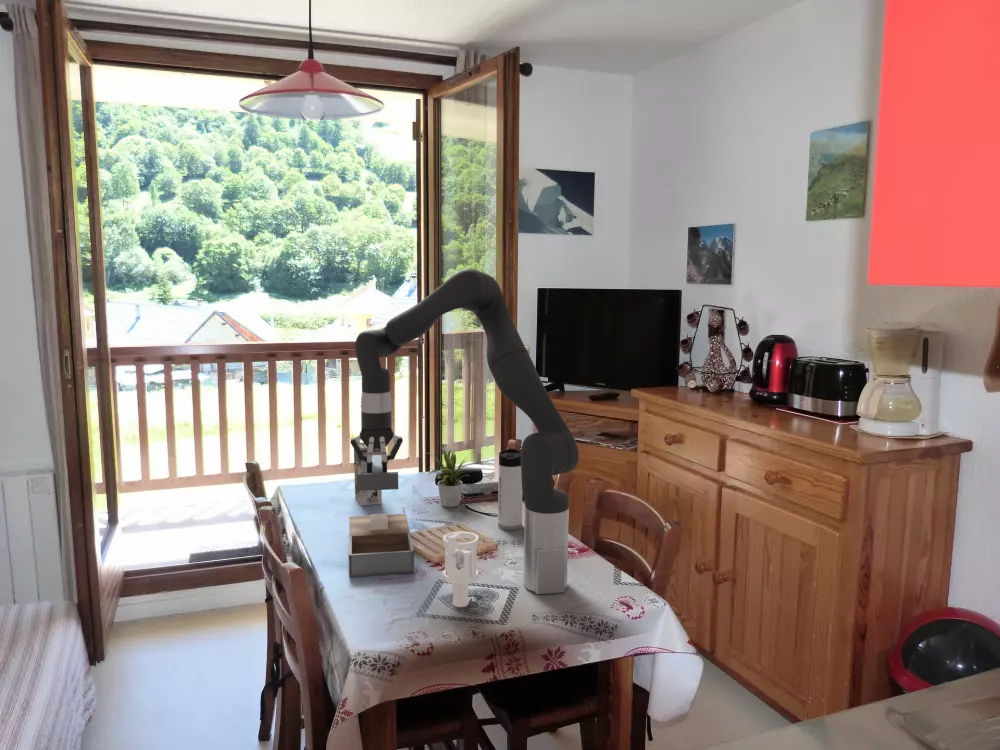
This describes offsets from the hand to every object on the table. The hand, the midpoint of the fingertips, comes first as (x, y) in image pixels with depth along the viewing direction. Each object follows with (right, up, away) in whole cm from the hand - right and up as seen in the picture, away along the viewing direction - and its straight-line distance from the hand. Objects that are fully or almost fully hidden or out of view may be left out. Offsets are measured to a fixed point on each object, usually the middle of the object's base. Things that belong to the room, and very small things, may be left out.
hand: (377, 475), depth 195 cm
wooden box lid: (+2, -16, -9) cm, 18 cm away
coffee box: (-7, -11, +25) cm, 28 cm away
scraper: (0, -2, +2) cm, 2 cm away
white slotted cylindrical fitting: (+23, -20, -42) cm, 52 cm away
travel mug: (+34, -14, +5) cm, 37 cm away
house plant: (+16, -11, +24) cm, 31 cm away
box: (+4, -17, -22) cm, 28 cm away
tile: (+2, -11, -11) cm, 16 cm away
